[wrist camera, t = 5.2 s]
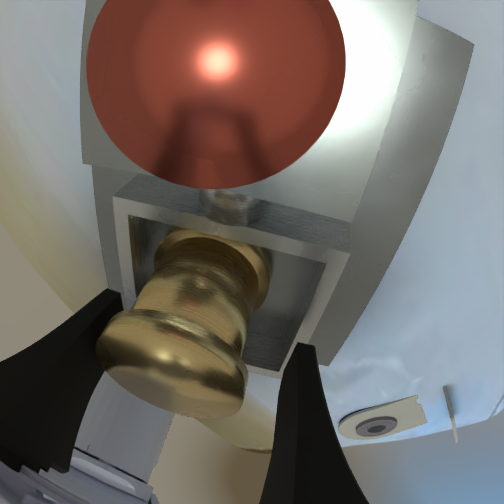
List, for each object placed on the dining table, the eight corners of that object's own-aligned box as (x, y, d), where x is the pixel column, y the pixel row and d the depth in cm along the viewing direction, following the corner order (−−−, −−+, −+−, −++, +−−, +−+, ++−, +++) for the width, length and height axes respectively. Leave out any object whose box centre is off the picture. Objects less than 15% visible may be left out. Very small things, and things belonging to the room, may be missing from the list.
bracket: (326, 411, 23) (323, 449, 20) (447, 379, 18) (454, 420, 15) (353, 435, 25) (351, 467, 23) (454, 409, 21) (458, 443, 18)
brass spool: (261, 315, 15) (235, 429, 10) (164, 291, 16) (113, 391, 11) (281, 231, 12) (253, 364, 7) (160, 205, 12) (78, 311, 8)
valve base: (328, 355, 17) (320, 462, 12) (119, 298, 18) (66, 386, 13) (467, 29, 7) (601, 43, 1) (113, -30, 7) (-26, -39, 2)
